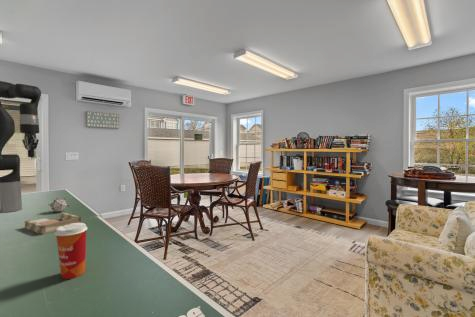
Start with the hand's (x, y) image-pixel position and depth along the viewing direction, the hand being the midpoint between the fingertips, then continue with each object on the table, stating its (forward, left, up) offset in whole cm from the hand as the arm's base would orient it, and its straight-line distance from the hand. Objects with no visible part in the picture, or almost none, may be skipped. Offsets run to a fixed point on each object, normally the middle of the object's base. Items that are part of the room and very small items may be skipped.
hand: (31, 157), depth 123 cm
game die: (0, +12, -32) cm, 34 cm away
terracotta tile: (+26, -4, -32) cm, 42 cm away
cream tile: (+20, -5, -32) cm, 38 cm away
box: (+26, -2, -32) cm, 41 cm away
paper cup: (+80, -20, -32) cm, 89 cm away
